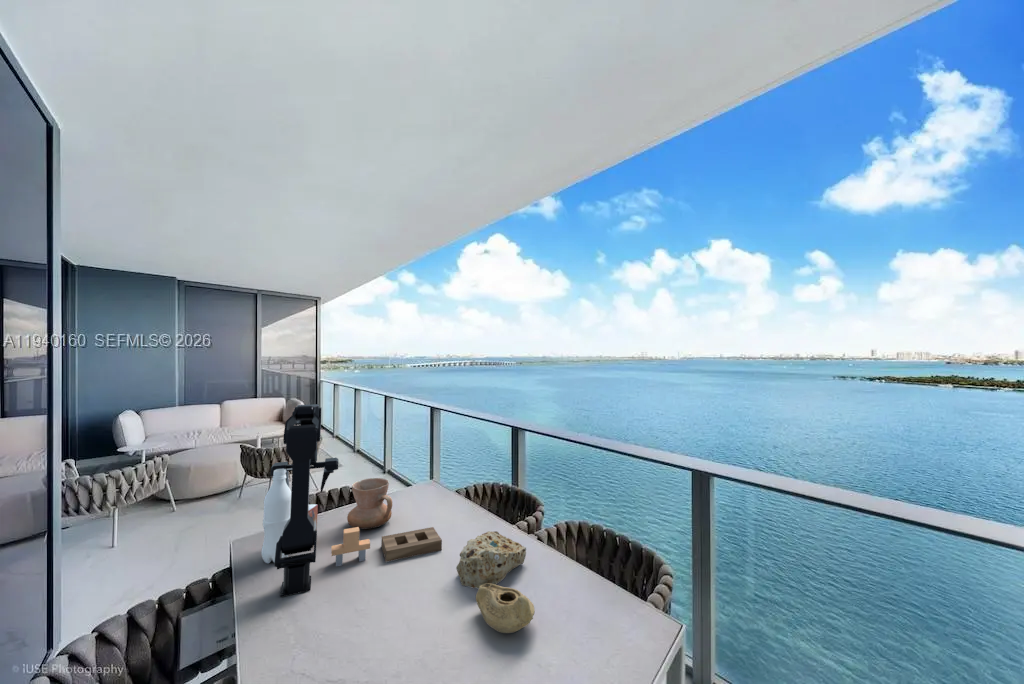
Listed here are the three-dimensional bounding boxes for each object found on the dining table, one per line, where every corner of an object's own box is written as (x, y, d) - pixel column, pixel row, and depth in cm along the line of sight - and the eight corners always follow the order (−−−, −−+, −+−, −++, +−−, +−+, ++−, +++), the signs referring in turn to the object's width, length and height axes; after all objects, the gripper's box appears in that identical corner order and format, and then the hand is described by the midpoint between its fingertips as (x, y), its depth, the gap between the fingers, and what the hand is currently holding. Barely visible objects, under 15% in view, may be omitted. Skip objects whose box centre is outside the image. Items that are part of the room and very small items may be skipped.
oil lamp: (487, 598, 92) (488, 564, 92) (544, 620, 84) (544, 582, 84) (459, 625, 82) (459, 587, 83) (520, 652, 75) (520, 610, 75)
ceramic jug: (335, 526, 131) (336, 484, 131) (368, 511, 143) (370, 473, 144) (372, 539, 122) (374, 494, 123) (404, 522, 135) (406, 481, 135)
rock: (486, 551, 116) (495, 519, 117) (526, 577, 109) (535, 542, 109) (442, 575, 99) (452, 538, 99) (485, 608, 91) (497, 567, 92)
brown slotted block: (441, 550, 115) (441, 539, 115) (386, 561, 108) (386, 551, 108) (433, 536, 124) (433, 526, 124) (381, 546, 117) (381, 536, 117)
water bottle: (276, 567, 105) (280, 474, 106) (254, 564, 106) (258, 472, 107) (296, 554, 112) (299, 467, 113) (275, 551, 113) (278, 466, 114)
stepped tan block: (369, 559, 109) (370, 528, 110) (331, 567, 105) (332, 535, 105) (368, 554, 112) (369, 524, 112) (330, 562, 107) (332, 531, 108)
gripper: (339, 437, 133) (337, 483, 132) (276, 441, 125) (274, 490, 125) (338, 443, 123) (337, 493, 122) (271, 448, 115) (268, 501, 114)
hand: (305, 494), depth 121 cm, fingers open, 9 cm apart
